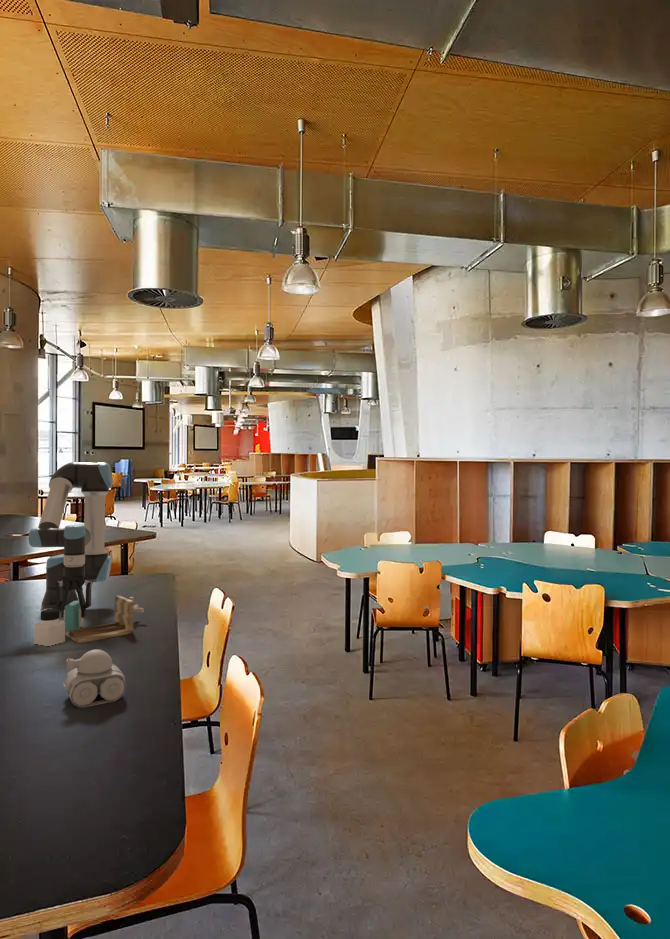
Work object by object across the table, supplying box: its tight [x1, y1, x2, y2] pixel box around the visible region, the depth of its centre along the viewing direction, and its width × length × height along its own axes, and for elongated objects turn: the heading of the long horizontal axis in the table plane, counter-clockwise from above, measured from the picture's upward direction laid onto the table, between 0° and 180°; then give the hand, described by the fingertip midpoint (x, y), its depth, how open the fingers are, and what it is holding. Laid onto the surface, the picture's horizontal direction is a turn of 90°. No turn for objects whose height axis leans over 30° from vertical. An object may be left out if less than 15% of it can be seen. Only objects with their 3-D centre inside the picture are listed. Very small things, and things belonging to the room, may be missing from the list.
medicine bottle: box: [33, 608, 66, 647], centre depth 205 cm, size 7×7×12 cm
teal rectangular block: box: [65, 601, 83, 632], centre depth 223 cm, size 3×9×10 cm, turn 3°
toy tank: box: [62, 649, 127, 708], centre depth 156 cm, size 15×11×13 cm
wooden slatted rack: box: [65, 594, 135, 644], centre depth 217 cm, size 14×20×12 cm
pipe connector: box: [128, 596, 145, 613], centre depth 234 cm, size 10×10×10 cm
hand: (73, 625), depth 223 cm, fingers open, 5 cm apart
